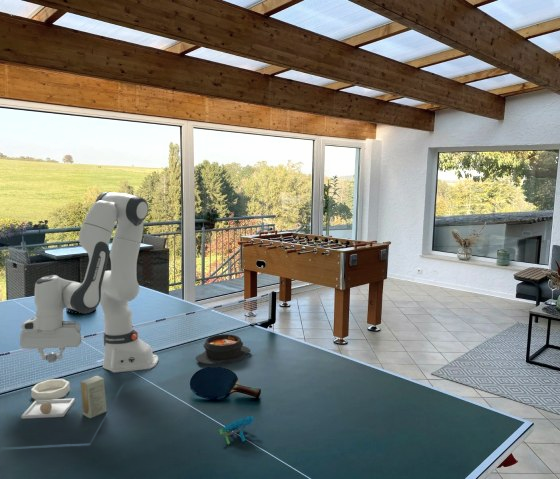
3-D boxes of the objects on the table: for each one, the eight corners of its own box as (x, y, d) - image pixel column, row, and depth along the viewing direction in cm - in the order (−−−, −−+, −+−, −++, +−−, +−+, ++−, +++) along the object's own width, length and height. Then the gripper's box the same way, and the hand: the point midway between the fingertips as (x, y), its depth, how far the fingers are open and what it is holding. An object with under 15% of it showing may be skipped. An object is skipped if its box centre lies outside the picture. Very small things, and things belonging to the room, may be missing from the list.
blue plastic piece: (250, 421, 154) (255, 410, 146) (256, 439, 151) (262, 430, 143) (216, 433, 150) (219, 423, 142) (222, 452, 147) (226, 443, 139)
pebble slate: (59, 360, 178) (58, 350, 177) (55, 364, 174) (55, 354, 174) (49, 360, 177) (48, 351, 177) (45, 364, 174) (44, 354, 173)
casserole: (233, 346, 227) (233, 328, 225) (259, 356, 213) (259, 338, 212) (187, 360, 210) (186, 341, 209) (212, 372, 196) (211, 352, 195)
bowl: (73, 387, 184) (72, 378, 183) (62, 401, 172) (61, 392, 172) (41, 388, 183) (40, 379, 182) (27, 403, 171) (26, 393, 171)
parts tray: (75, 402, 171) (74, 398, 171) (63, 418, 160) (63, 413, 160) (35, 404, 170) (35, 400, 170) (21, 420, 159) (21, 415, 159)
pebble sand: (54, 410, 165) (53, 399, 164) (49, 415, 161) (49, 404, 161) (42, 410, 165) (42, 400, 164) (38, 415, 161) (37, 405, 160)
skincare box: (99, 409, 167) (97, 374, 165) (107, 412, 164) (104, 377, 162) (82, 416, 162) (79, 380, 160) (89, 420, 159) (86, 384, 157)
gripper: (83, 318, 178) (85, 355, 180) (24, 319, 176) (26, 356, 178) (77, 323, 172) (79, 361, 173) (16, 325, 170) (19, 363, 172)
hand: (52, 359), depth 176 cm, fingers closed on pebble slate, 4 cm apart
